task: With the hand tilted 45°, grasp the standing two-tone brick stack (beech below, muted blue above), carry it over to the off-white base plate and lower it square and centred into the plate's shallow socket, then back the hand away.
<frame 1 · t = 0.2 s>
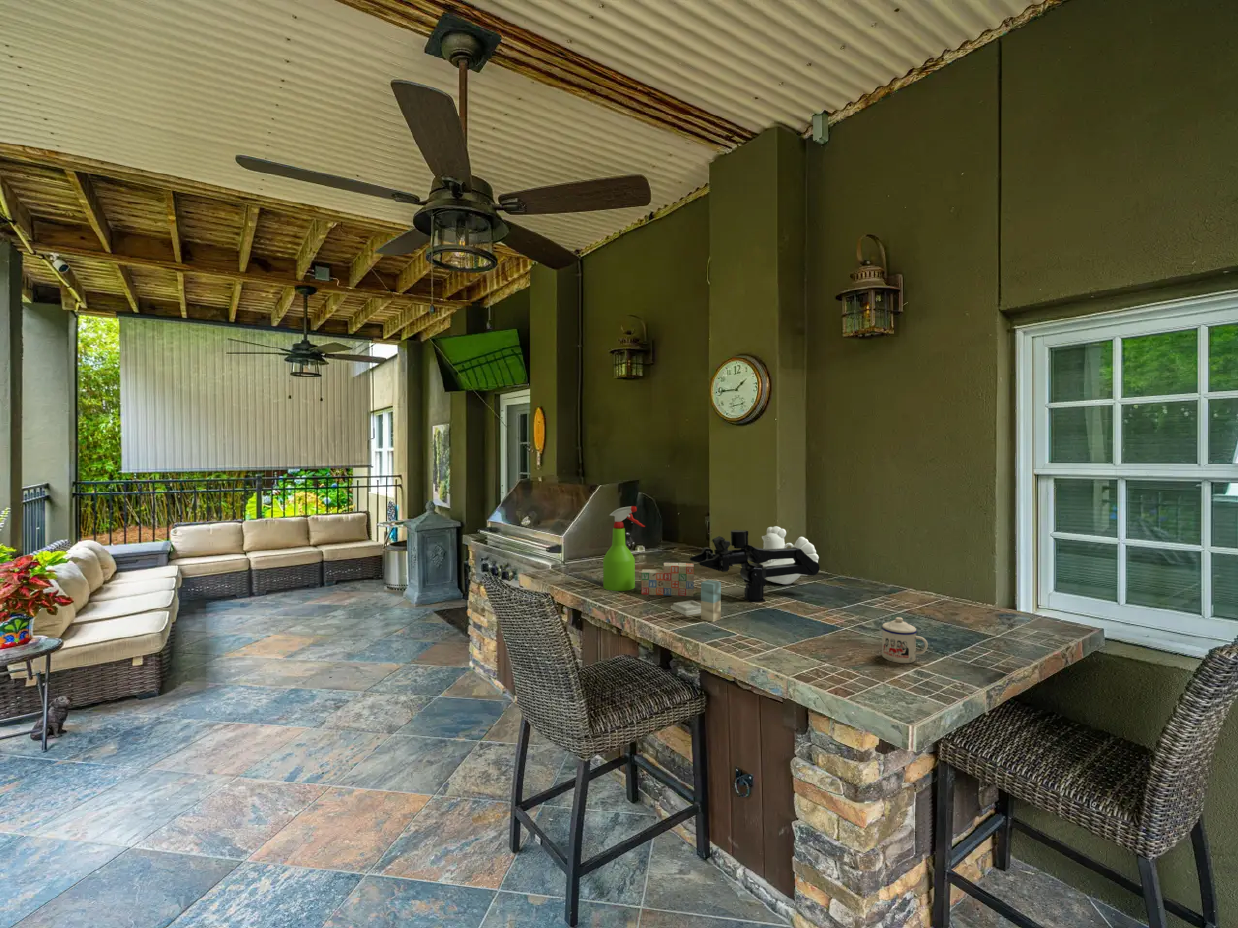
hand: (694, 561, 229), 17 cm above the worktop, tool horizontal, fingers open, 9 cm apart
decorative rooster: (787, 584, 263), on the worktop
base plate: (689, 610, 222), on the worktop
spray bottle: (624, 587, 257), on the worktop
brick stack: (710, 618, 211), on the worktop
teacup with lid: (904, 660, 171), on the worktop
stack of blocks: (667, 594, 247), on the worktop
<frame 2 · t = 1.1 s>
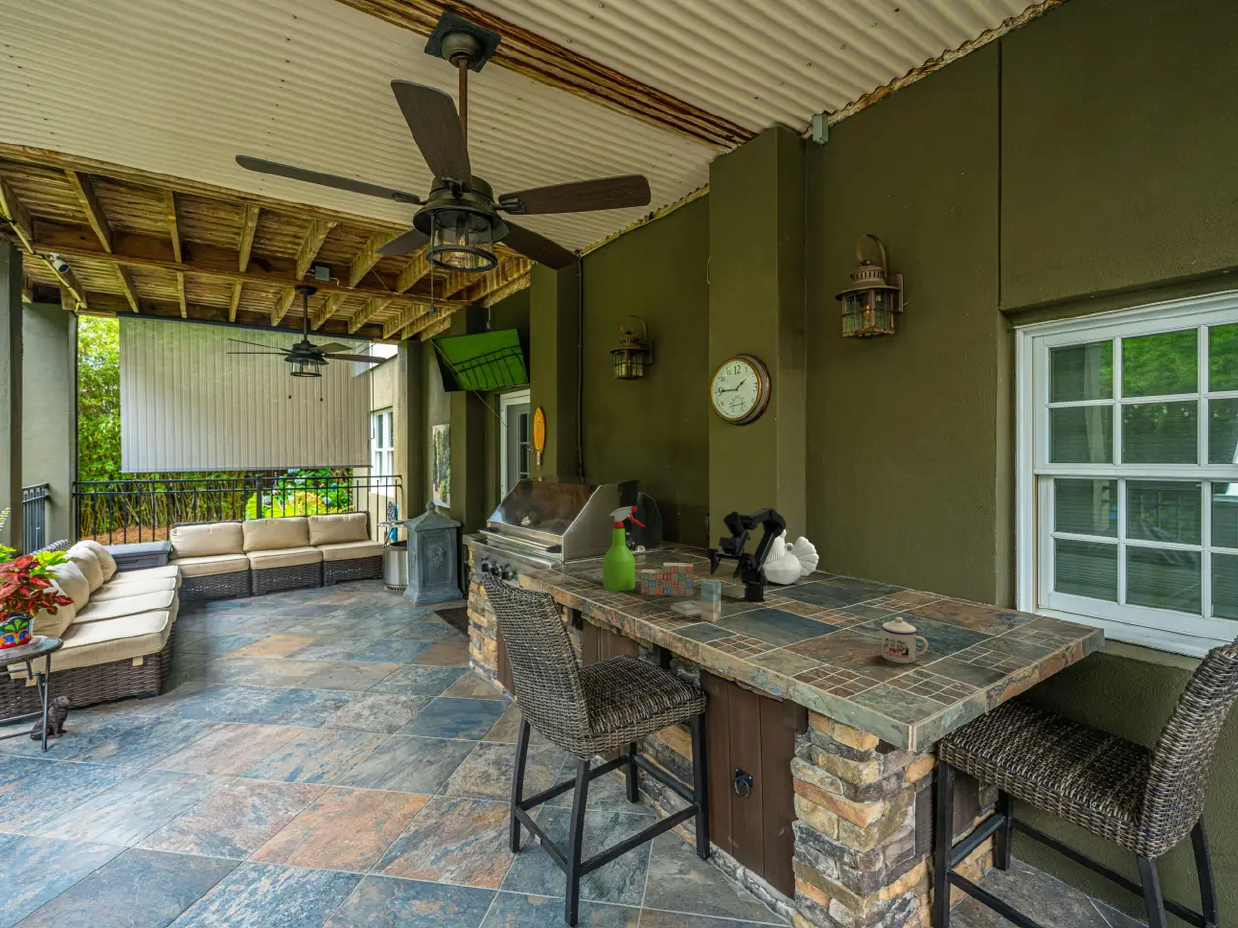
hand: (722, 576, 217), 14 cm above the worktop, tool tilted 45°, fingers open, 9 cm apart
nothing on the worktop moved.
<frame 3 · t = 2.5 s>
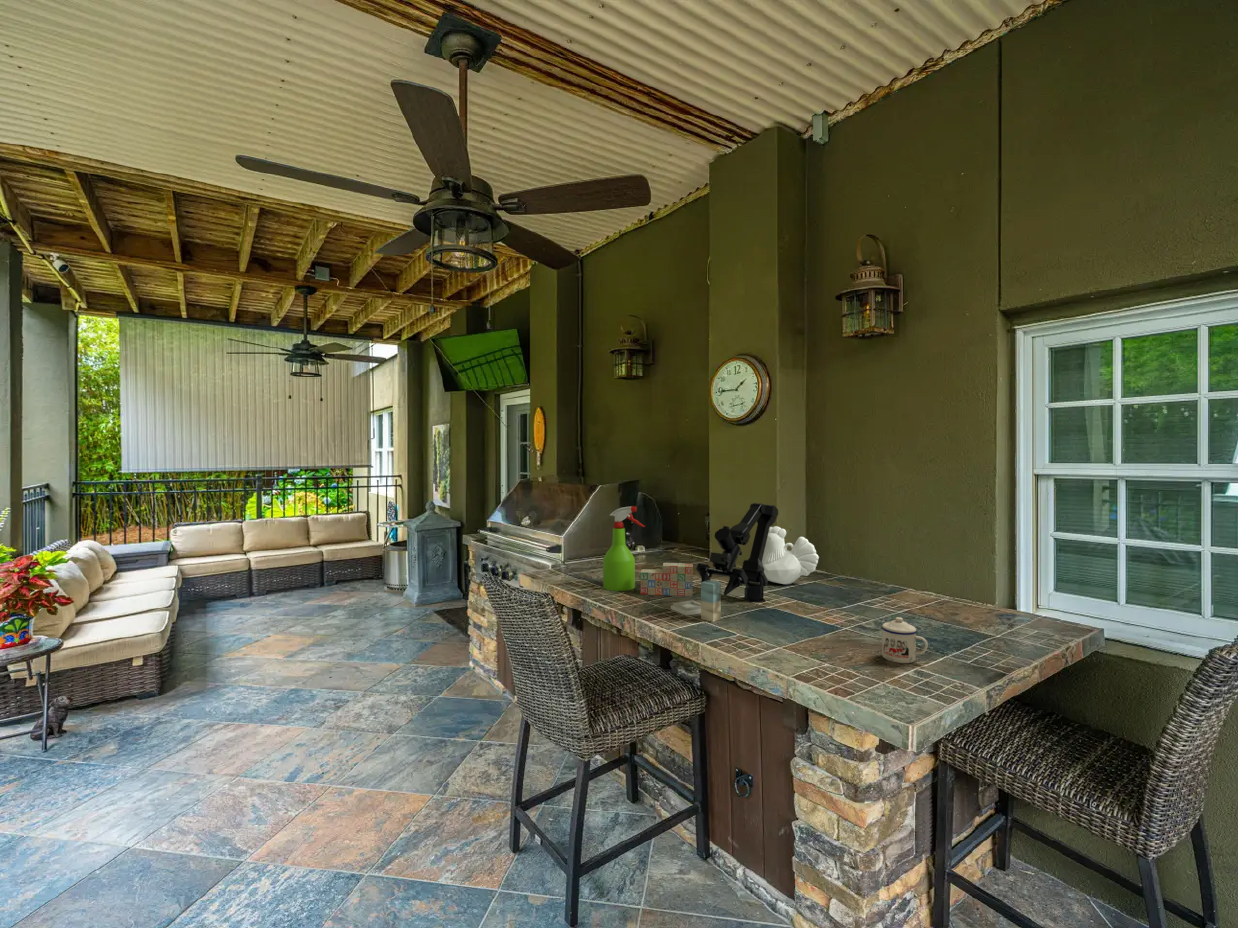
hand: (712, 592, 212), 9 cm above the worktop, tool tilted 45°, fingers open, 9 cm apart
nothing on the worktop moved.
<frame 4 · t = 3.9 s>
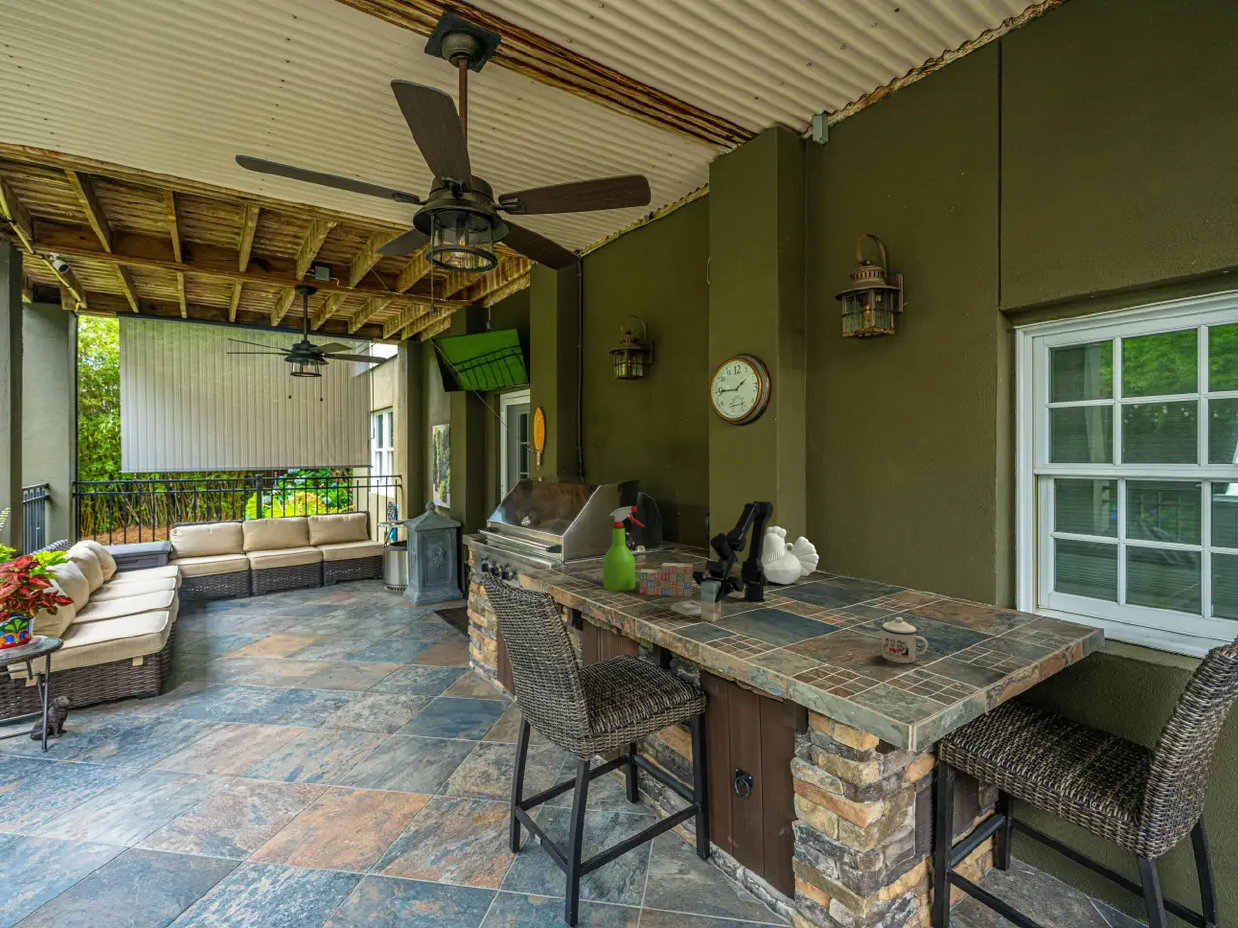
hand: (708, 600, 210), 7 cm above the worktop, tool tilted 45°, fingers closed on brick stack, 5 cm apart
brick stack: (710, 618, 211), on the worktop, touching gripper
everything else where it was.
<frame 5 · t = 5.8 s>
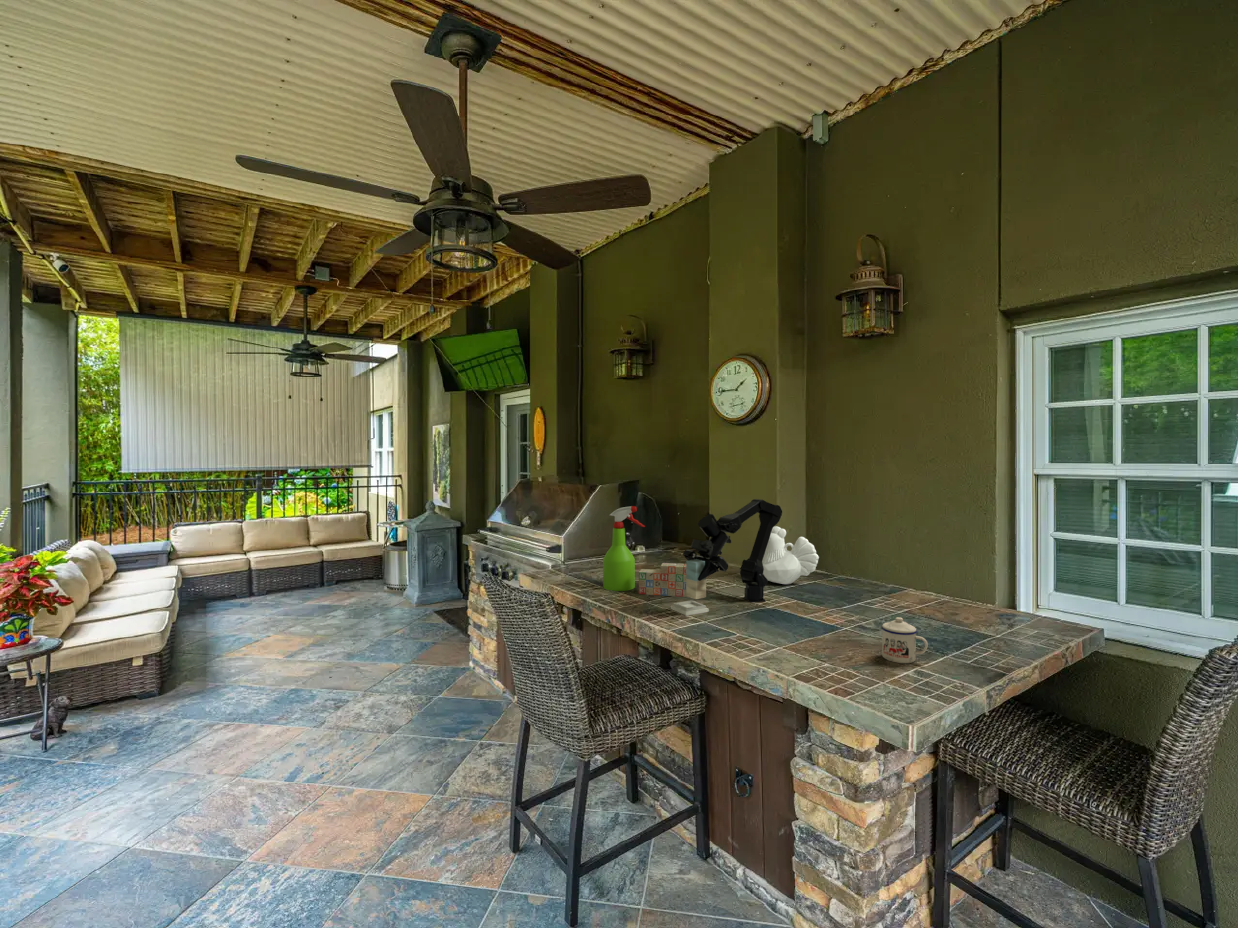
hand: (693, 578, 216), 13 cm above the worktop, tool tilted 45°, fingers closed on brick stack, 5 cm apart
brick stack: (696, 596, 218), point 6 cm above the worktop, touching gripper
when the fingers open (8 cm above the worktop, at t = 7.7 s): brick stack stays where it is, resting on base plate.
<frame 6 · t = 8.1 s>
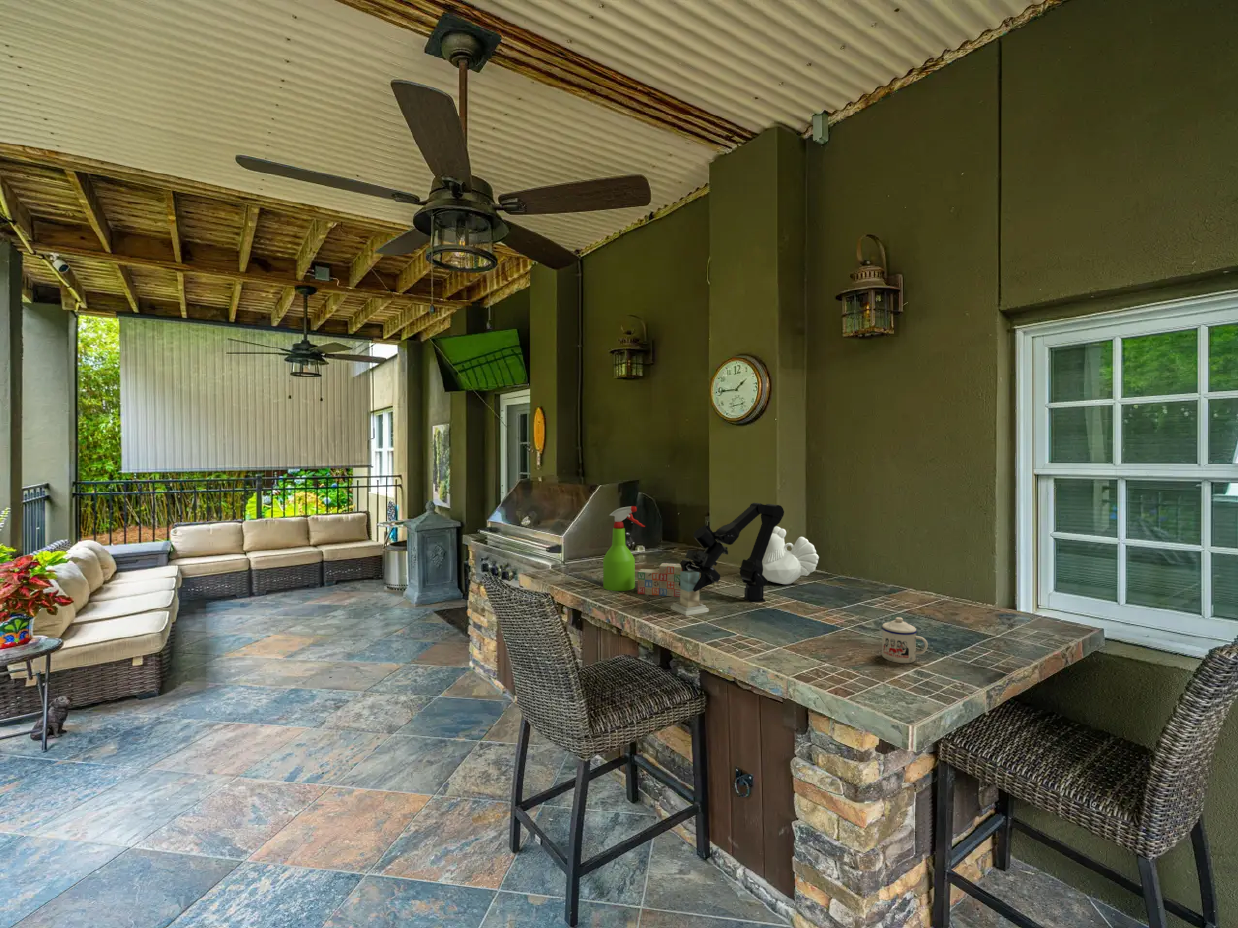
hand: (686, 588, 221), 8 cm above the worktop, tool tilted 45°, fingers open, 9 cm apart
brick stack: (689, 606, 222), point 1 cm above the worktop, touching base plate
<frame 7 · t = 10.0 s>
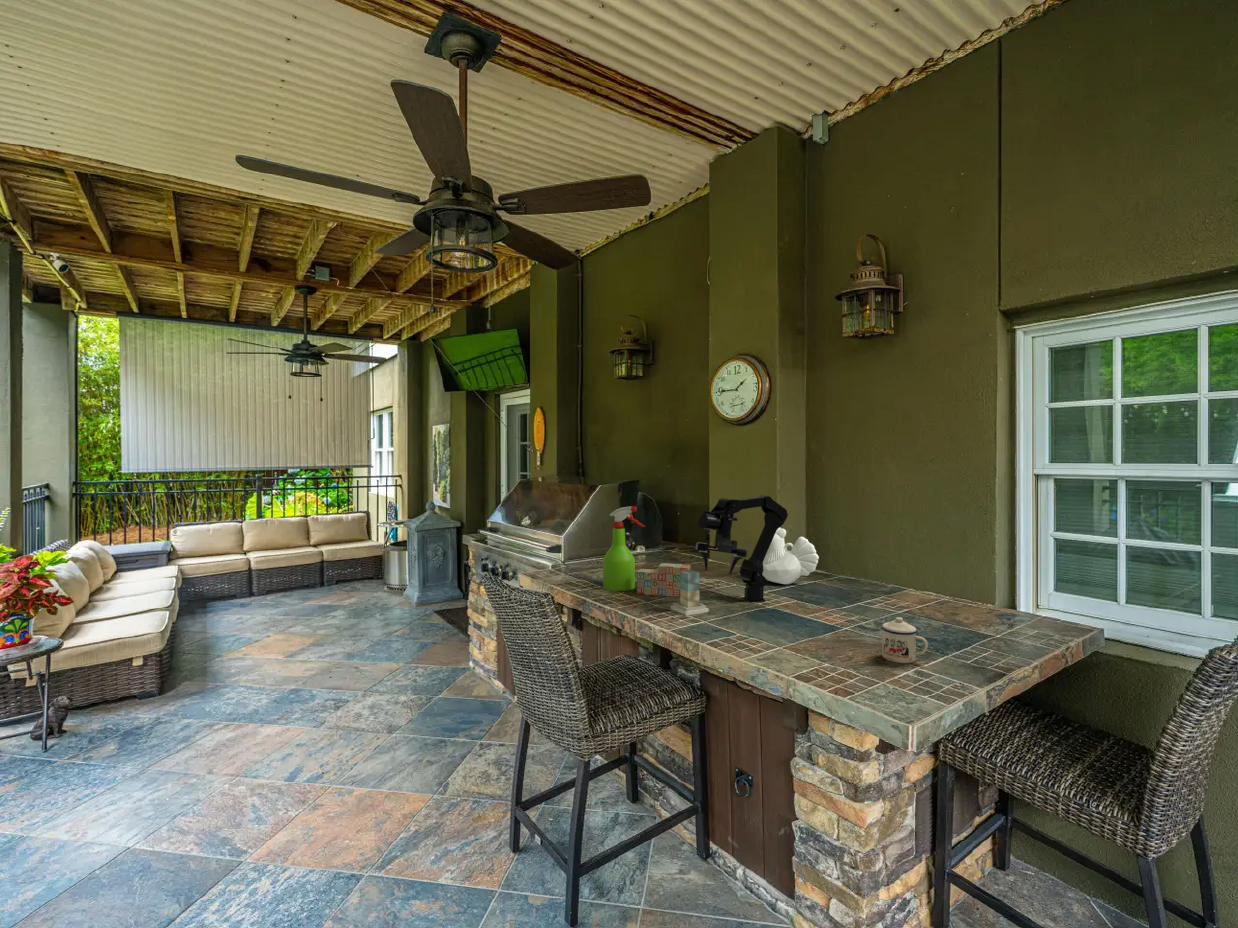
hand: (717, 572, 228), 13 cm above the worktop, tool pointing down, fingers open, 9 cm apart
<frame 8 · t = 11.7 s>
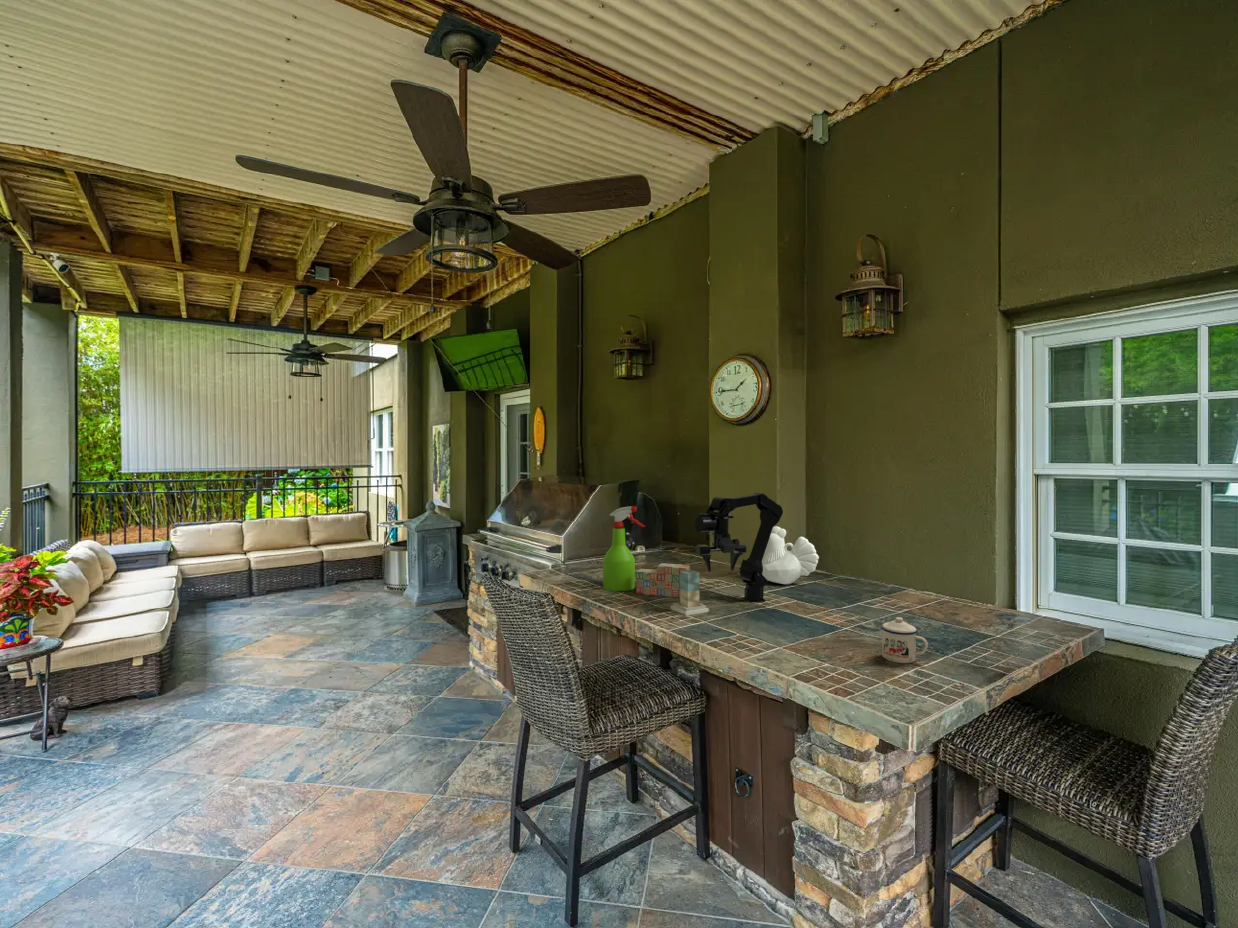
hand: (720, 571, 229), 13 cm above the worktop, tool pointing down, fingers open, 9 cm apart
at the end: brick stack 0.1 cm off-centre on the base plate, point 1.2 cm above the base plate's base; brick stack tilted 0°; the gripper is holding nothing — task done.
